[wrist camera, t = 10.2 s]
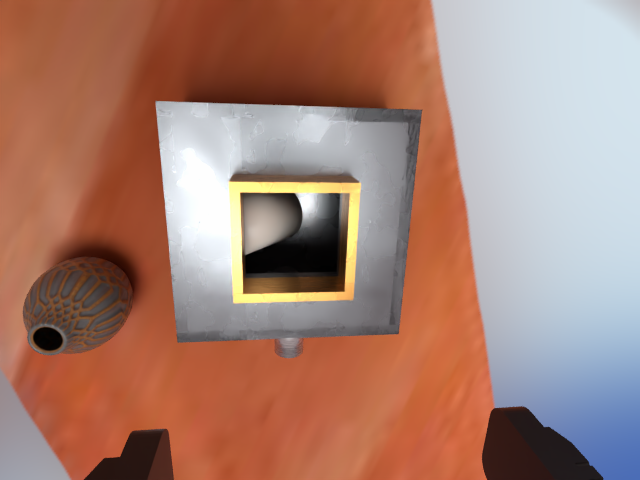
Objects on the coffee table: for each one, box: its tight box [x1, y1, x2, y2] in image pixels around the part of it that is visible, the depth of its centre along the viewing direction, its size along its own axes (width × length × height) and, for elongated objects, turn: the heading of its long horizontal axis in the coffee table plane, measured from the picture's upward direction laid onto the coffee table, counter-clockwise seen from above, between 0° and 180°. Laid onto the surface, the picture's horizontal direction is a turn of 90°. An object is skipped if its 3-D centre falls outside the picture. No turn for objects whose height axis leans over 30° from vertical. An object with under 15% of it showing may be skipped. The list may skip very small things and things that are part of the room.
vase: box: [23, 257, 133, 355], centre depth 30 cm, size 7×7×9 cm
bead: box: [244, 192, 303, 255], centre depth 30 cm, size 4×4×6 cm
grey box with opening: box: [156, 101, 422, 358], centre depth 30 cm, size 20×16×10 cm
